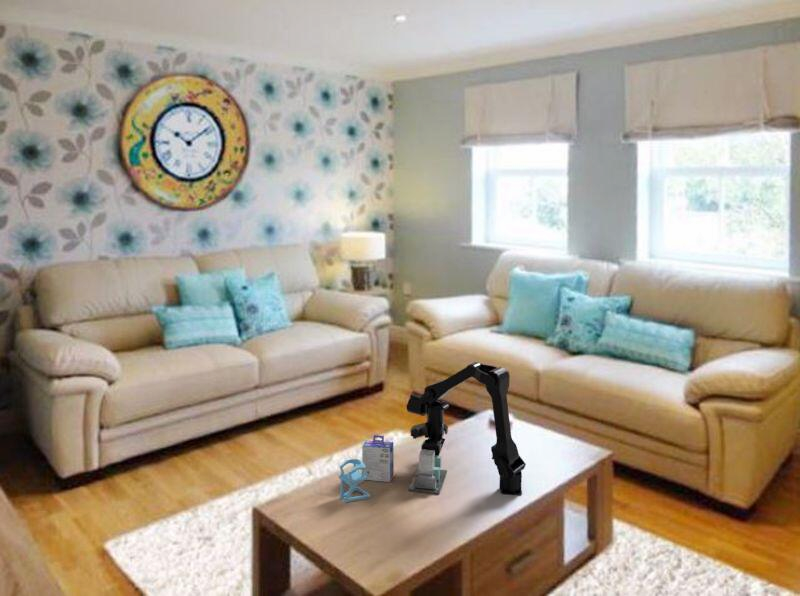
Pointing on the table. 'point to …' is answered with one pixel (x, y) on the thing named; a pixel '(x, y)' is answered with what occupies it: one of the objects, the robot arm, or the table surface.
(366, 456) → the ink cartridge box
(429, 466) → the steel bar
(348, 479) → the chair
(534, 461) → the table surface
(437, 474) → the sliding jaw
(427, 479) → the bench vise
